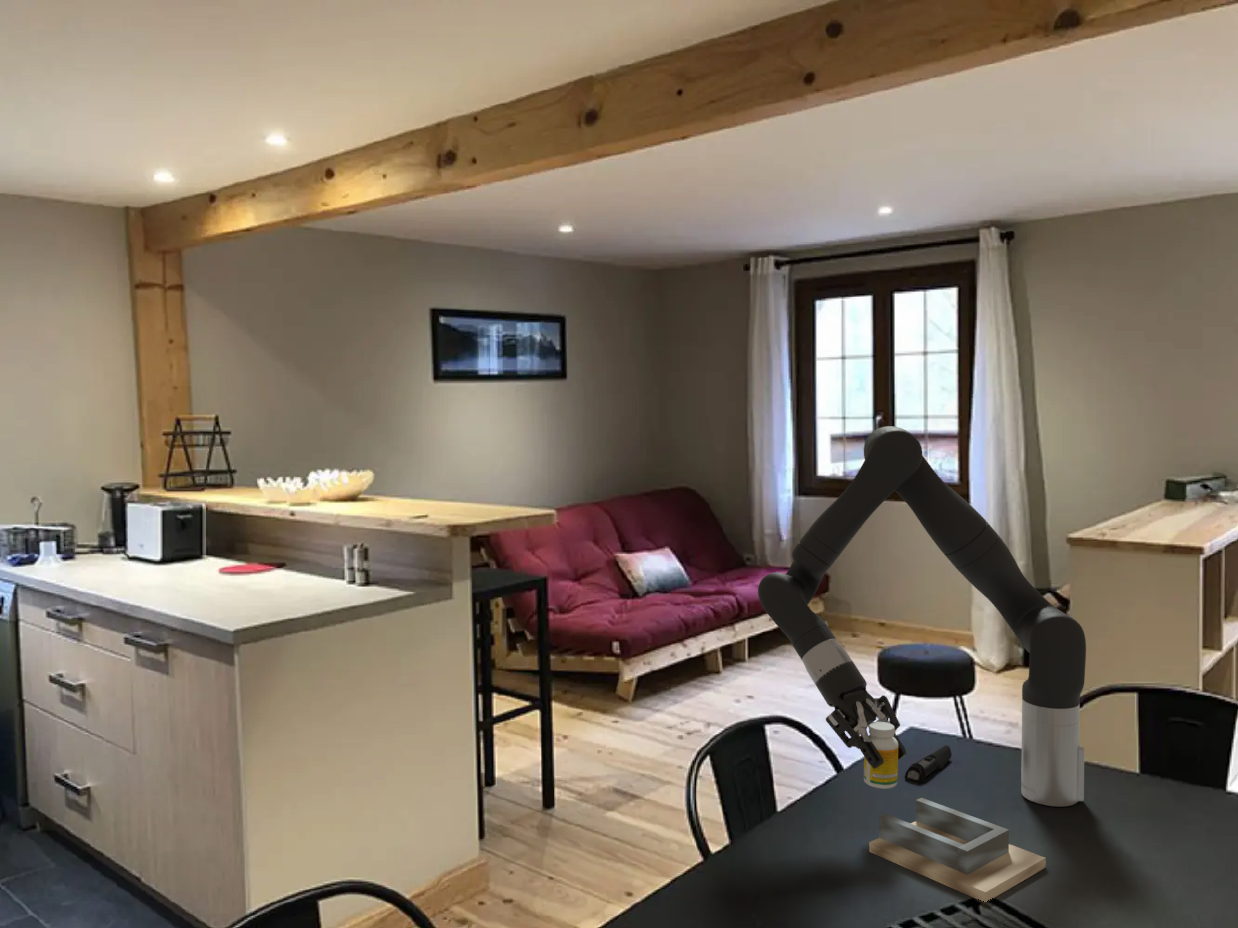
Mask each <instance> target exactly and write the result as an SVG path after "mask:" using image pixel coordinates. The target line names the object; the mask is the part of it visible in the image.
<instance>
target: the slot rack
mask: <svg viewBox="0 0 1238 928" xmlns="http://www.w3.org/2000/svg"><path fill="white" fill-rule="evenodd" d="M878 822H879V827H878V828H879V829H878V830H879V835H878V836H879V837H878V838H876V839H874V840H871V841H869V843H868V845H869V847H868V848H869V853H871V854H874V855H875V856H879V857H880V858H883V859H885V860H887V861H890V862H892V863H894V864H897V865H898V866H901V867H903V868H905V869H908V870H910V871H912V872H915V873H917V874H919V875H921V876H924V877H926V878H929V879H931V880H933V881H934V882H937V883H940V884H941V885H944V886H947V887H949V888H951V889H953V890H955V891H958V892H959V893H962V894H964V895H967V896H969V897H971V898H972V899H973V898H974V899H976V900H978V899H979V900H978V901H980V900H981V902H983V901H984V902H983V903H985V902H986V903H987V901H988V900H989V901H991V900H993V899H995V898H996V897H998V896H999V895H1001V894H1003V893H1004V892H1007V891H1008V890H1009V889H1012V888H1014V887H1015V886H1017V885H1018V884H1020V883H1021V882H1023V881H1024V880H1027V879H1028V878H1030V877H1032V876H1033V875H1035V874H1037V873H1039V872H1040V871H1042V870H1043V869H1045V868H1046V864H1047V863H1046V861H1047V860H1046V857H1045V856H1041V855H1039V854H1036V853H1034V852H1031V851H1028V850H1026V849H1023V848H1021V847H1018V846H1015V845H1013V844H1010V843H1009V842H1010V830H1009V829H1008V828H1005V827H1002V826H1001V825H1000V826H999V825H997V824H994V823H991V822H989V821H986V820H983V819H981V818H978V817H975V816H972V815H970V814H968V813H964V812H962V811H959V810H956V809H953V808H951V807H948V806H946V805H943V804H939V803H937V802H934V801H932V800H929V799H926V798H924V797H920V798H918V799H916V800H915V821H913V822H908V821H906V820H905V821H904V820H902V819H900V818H898V817H896V816H892V815H891V814H887V813H884V814H881V815H880V816H879V821H878ZM992 898H993V899H992ZM990 899H991V900H990ZM989 901H988V902H989Z"/></svg>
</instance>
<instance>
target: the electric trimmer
mask: <svg viewBox="0 0 1238 928" xmlns="http://www.w3.org/2000/svg"><path fill="white" fill-rule="evenodd" d="M950 747H951V746H949V745H943V746H941V747H940V748H939V749H936V750H935V751H934V752H932V753H930V754H929V755H928V754H927V756H925V757H923V758H921V759H920V760H918V761H917V762H915V763H912V764H911V765H910V766H909V767H908V769H906V772H905V774H904V780H905V781H907V782H911V783H915V784H923V783H925V781H926V777H928V776H929V775H930V774H932V773H933V772H934V771H935V770H936V771H937V770H942V769H943V768H944V767H945V765H947V763H949V760H951V758H952V750H951V748H950Z"/></svg>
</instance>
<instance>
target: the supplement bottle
mask: <svg viewBox="0 0 1238 928" xmlns="http://www.w3.org/2000/svg"><path fill="white" fill-rule="evenodd" d="M895 733H896V732H895V729H894V726H893V725H892V724H891V722H889V723H886V722H876V721H874V722H873V723H870V724H869V728H868V736H869V742H871V741H872V743H873V744H874V746H875V748H876V749H877V751H878V752H879V754H880V755H881V757H882V759H883V761H884V762H883V764H882V765H880V766H879V767H877V768H873V767H872V766H871V765H870V764H869V763H868V761H867V760H866V758H865V757H864V756H863V781H864V783H865V784H866V785H868V786H870V787H873V788H876V789H882V790H884V789H892V788H894V787H895V786H897V784H898V777H899V776H898V772H899V760H898V741H897V740H896V739H895V738H894V737H893V736H894V734H895Z"/></svg>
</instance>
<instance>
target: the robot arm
mask: <svg viewBox="0 0 1238 928" xmlns="http://www.w3.org/2000/svg"><path fill="white" fill-rule="evenodd" d="M922 448H923V447H922V445H921V443H920V441H919V439H918V438H917V437H916V436H915V435H914V434H913V433H911V432H910V431H907V430H906V429H904V428H902V427H898V426H894V425H893V426H889V425H887V426H882V427H879V428H877V429H875V430H873V431H872V432H871V433H869V435H868V436H867V438H866V440H865V442H864V445H863V457H864V461H863V463H862V465H860V468H859V470H858V472H857V473H856V475H855V477H854V478H853V479H852V481H851V482H850V483H849V484H848V486H847V487H846V488H845V489H844V490H843V492H842V493H841V494H840V495H839V496H838V497H837V498H836V500H834V501H833V502H832V503H831V505H830V504H829V506H828V507H827V508H826V509H825V510H824V511H823V512H822V513H821V514H820V515H819V516H818V517H817V519H816V520H814V522H813V523H812V524H811V526H810V527H809V528H808V529H807V531H806V532H805V533H804V535H803V536H802V537H801V538H800V539H799V540H798V542H797V543H796V544H795V547H794V548H793V549H792V552H791V557H792V560H793V561H792V563H791V564H790V567H789V569H788V570H787V571H786V573H782V572H770V573H768V574H766V575H765V576H764V577H763V578H762V579H761V580H760V581H759V585H758V587H757V594H758V595H757V596H758V599H759V602H760V604H761V606H762V608H763V609H764V611H765V613H766V614H767V615H768V616H769V618H770V619H771V620H772V621H773V622H774V624H775V625H776V626H777V627H778V628H779V630H780V631H782V633H783V634H784V635H785V636H786V637H787V638H788V639H789V642H790V644H791V645H792V647H793V648H794V650H795V652H796V653H797V655H798V656H799V658H800V660H801V661H802V663H803V665H804V667H805V669H806V671H807V673H808V674H807V675H809V677H810V678H811V680H812V682H813V684H814V685H815V687H816V688H817V690H818V691H819V693H820V694H821V696H822V697H823V698H822V699H824V701H825V702H826V704H827V705H828V706H829V707H830V708H834V710H833V711H832V712H831V713H829V715H827V716H826V717H825V721H826V723H827V724H828V725H829V726H830V728H831V729H832V730H833V731H834V732H835V734H836V735H837V737H838V738H839V739H840V740H841V741H842V742H843V743H844V744H845V747H847V748H848V749H850V748H852V747H854V748H856V749H858V750H860V752H861V754H862V756H863V758H864V757H865V758H866V760H867V761H868V763H869V764H870V765H871V766H872V767H873V768H877V767H879V766H880V765H882V764H883V762H884V761H883V759H882V757H881V755H880V754H879V752H878V751H877V749H876V748H875V746H874V744H873V743H872V741H871V742H869V736H868V735H869V732H868V730H867V729H869V724H870V723H873V722H886V723H890V724H892V725H893V726H894V729H895V734H894V736H893V737H894V738H895V739H896V740H897V741H898V761H899V760H901V759H902V758H904V757H905V756H906V755H907V751H906V748H905V746H904V745H903V743H902V741H901V740H900V738H899V737H898V736H897V734H896V731H897V730H898V728H899V727H901V723H900V721H899V720H898V717H897V715H896V713H895V711H894V710H893V707H892V705H891V702H890V701H889V698H888V697H887V696H886V695H881V696H880V697H878V698H877V697H875V698H874V696H872V695H871V694H870V693H869V692H868V691H867V685H868V684H867V680H866V679H865V678H864V676H863V675H862V674H861V671H860V670H859V669H858V667H857V666H856V664H855V662H854V661H853V659H852V658H851V656H850V654H849V653H848V652H847V651H846V649H845V648H844V647H843V646H842V644H840V642H839V641H838V640H837V638H836V636H835V635H834V633H833V632H832V630H831V628H830V627H829V626H828V624H827V623H826V621H824V619H823V618H822V617H821V616H820V615H819V614H817V613H815V612H814V611H813V610H812V609H811V608H810V607H809V604H810V602H812V599H813V597H814V596H815V594H816V592H817V591H818V589H819V586H820V585H821V582H822V580H823V579H824V576H825V574H826V573H827V572H828V570H829V569H830V568H831V566H832V565H834V563H835V561H837V559H838V557H840V555H841V554H842V553H843V551H845V549H846V548H847V546H848V545H849V544H850V542H851V541H852V540H853V538H854V537H855V536H856V534H857V533H858V532H859V530H861V528H862V527H863V525H864V524H865V522H867V520H868V519H869V518H870V517H871V516H872V515H873V514H874V512H876V510H877V509H878V508H879V507H880V505H882V504H883V503H884V502H885V500H886V499H888V497H890V496H891V494H893V493H896V494H897V495H898V496H899V497H900V498H901V499H902V500H903V501H904V502H905V503H906V505H907V506H908V507H909V508H910V510H911V511H912V512H913V514H914V515H915V516H916V518H917V520H918V521H919V522H920V525H921V526H922V527H923V529H924V530H925V532H926V533H927V534H928V535H929V537H930V538H931V540H933V541H932V542H934V544H935V545H936V546H937V547H938V549H939V550H940V551H941V552H942V554H943V555H944V557H946V558H947V559H948V561H949V562H950V563H951V564H952V566H954V567H955V569H956V570H957V571H958V572H959V573H960V574H961V575H962V576H963V577H964V578H965V579H966V580H967V581H968V583H970V584H971V585H972V586H973V587H974V588H975V589H976V590H977V591H978V592H979V593H981V594H982V595H983V597H985V598H986V599H987V600H988V601H989V602H990V603H991V604H992V605H993V606H994V607H995V609H996V610H997V611H998V612H999V614H1000V615H1001V616H1002V618H1003V619H1004V621H1005V622H1006V623H1007V625H1008V626H1009V628H1010V630H1011V631H1012V633H1014V635H1015V636H1016V638H1017V640H1018V641H1019V643H1020V644H1021V646H1022V647H1023V648H1024V649H1025V650H1026V651H1027V652H1028V653H1029V659H1028V660H1029V663H1028V665H1029V666H1028V668H1029V669H1028V677H1027V679H1025V680H1024V681H1023V683H1022V688H1021V689H1022V690H1021V763H1020V765H1021V770H1020V774H1021V778H1020V780H1021V781H1020V785H1021V790H1020V791H1021V793H1020V794H1021V795H1022V796H1023V798H1025V799H1027V800H1029V801H1030V802H1033V803H1036V804H1039V805H1043V806H1049V807H1070V806H1073V805H1076V804H1077V803H1078V802H1084V800H1085V799H1084V798H1085V797H1084V794H1085V789H1084V788H1085V748H1084V747H1083V745H1081V744H1080V707H1081V706H1080V705H1081V704H1080V701H1081V700H1080V699H1081V694H1082V691H1083V690H1084V688H1085V687H1084V686H1085V681H1086V680H1085V678H1086V677H1085V675H1086V658H1087V641H1086V634H1085V631H1084V629H1083V627H1082V626H1081V625H1080V623H1079V622H1078V620H1076V619H1074V617H1072V616H1070V615H1069V614H1067V613H1065V612H1063V611H1061V610H1060V609H1059V608H1057V607H1056V606H1054V605H1053V604H1052V603H1051V602H1050V601H1048V599H1046V597H1044V596H1043V595H1042V594H1041V592H1039V591H1038V590H1037V589H1036V587H1034V586H1033V585H1032V583H1031V582H1030V581H1028V579H1027V578H1026V577H1025V575H1024V574H1023V572H1022V571H1021V569H1020V567H1019V564H1018V563H1017V561H1016V559H1015V558H1014V555H1013V554H1012V553H1011V551H1010V549H1009V547H1008V546H1007V544H1006V543H1005V542H1004V540H1003V538H1001V536H1000V535H999V534H998V533H997V532H996V530H995V529H994V528H993V527H992V526H991V525H990V524H989V523H988V521H987V520H986V519H985V518H984V516H983V515H981V514H980V512H978V510H976V509H975V508H974V507H973V505H971V503H969V502H968V501H966V499H964V498H963V497H962V496H961V495H960V494H958V493H957V492H956V491H955V490H954V489H952V487H950V486H949V485H948V484H947V483H946V482H945V481H943V479H941V477H940V475H938V474H937V473H936V472H935V470H934V469H933V468H932V466H931V465H930V464H929V462H928V461H927V459H926V458H925V456H924V455H923V449H922ZM889 720H890V721H891V722H890V721H889ZM847 734H848V735H849V736H850V737H849V736H848V735H847Z"/></svg>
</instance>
